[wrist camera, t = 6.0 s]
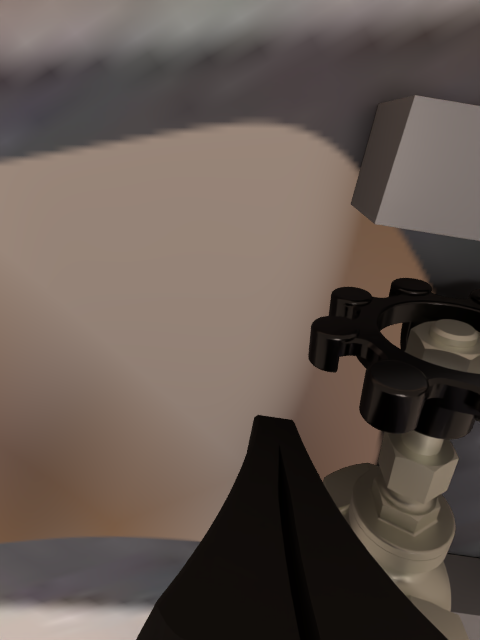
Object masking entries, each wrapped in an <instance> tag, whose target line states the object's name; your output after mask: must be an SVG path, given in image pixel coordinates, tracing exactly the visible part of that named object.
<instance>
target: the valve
mask: <svg viewBox="0 0 480 640" xmlns="http://www.w3.org/2000/svg"><path fill="white" fill-rule="evenodd" d="M431 291H432V287H431V286H430V285H429V284H428V283H426V282H424V281H422V280H418V279H412V278H400V279H396V280H394V281H393V282H392V283H391V289H390V293H389V297H387V298H377V297H372V296H371V294H370V293H369V292H367V291H365V290H363V289H360V288H355V287H341V288H337V289H335V290H334V291H333V292H332V294H331V302H330V310H329V316H326V317H320V318H318V319H316V320H315V321H314V322H313V323H312V325H311V335H310V345H309V360H310V362H311V363H312V364H313V365H314V366H315V367H317V368H319V369H321V370H324V371H327V372H337V369H338V362H339V357H341V356H349V355H350V356H351V355H353V356H357V358H358V360H359V361H360V362H361V363H362V365H363V366H364V367H365V368H366V373H365V378H364V384H363V389H362V395H361V400H360V406H359V408H360V413H361V415H362V417H363V418H364V419H365V421H366V422H367V423H369V424H370V425H371V426H373V427H374V428H376V429H378V430H381V431H383V432H384V437H383V441H382V445H381V450H380V454H379V458H378V463H379V466H380V467H379V466H377V465H374V464H370V463H362V464H356V465H352V466H348V467H345V468H342V469H340V470H338V471H335V472H333V473H331V474H329V475H328V476H326V477H325V478H324V480H323V484H324V485H325V487H326V489H327V491H328V492H329V494H330V496H331V497H332V499H333V501H334V502H335V504H336V506H337V507H338V509H339V510H340V512H341V513H342V515H343V516H344V518H345V519H346V521H347V522H348V524H349V525H350V527H351V528H352V530H353V531H354V532H355V534H356V535H357V537H358V538H359V539H360V541H361V542H362V543H363V545H364V546H365V547H366V549H367V550H368V551H369V553H370V554H371V555H372V556H373V558H374V559H375V560H376V561H377V562H378V564H379V565H380V566H381V567H382V568H383V570H384V571H385V572H386V573H387V575H388V576H389V577H390V578H391V579H392V581H393V582H394V583H395V584H396V585H397V587H398V588H399V589H400V590H401V591H402V592H403V593H404V594H405V595H406V597H407V598H408V599H409V600H410V601H411V602H412V603H413V604H414V605H415V606H416V607H417V608H418V610H419V611H420V612H421V613H422V614H423V615H424V616H425V617H426V618H427V619H428V620H429V621H430V622H431V623H432V624H433V625H434V626H435V627H436V628H437V629H438V630H439V631H440V632H441V633H442V634H443V635H444V636H445V637H446V638H447V639H448V640H469V638H468V636H467V633H466V631H465V628H464V626H463V623H462V621H461V619H460V616H459V615H458V614H455V613H453V612H450V611H451V589H450V582H449V577H448V574H447V570H446V567H445V564H444V561H443V560H444V559H445V557H446V554H447V552H448V550H449V547H450V545H451V543H452V540H453V538H454V535H455V528H456V526H455V519H454V515H453V512H452V510H451V507H450V506H449V504H448V503H447V501H446V499H445V498H444V497H443V496H442V493H443V492H445V491H447V489H448V486H449V484H450V481H451V478H452V476H453V473H454V470H455V468H456V465H457V462H458V460H459V458H458V455H457V453H456V451H455V449H454V447H453V445H452V443H451V442H450V440H449V439H458V438H461V437H464V436H465V435H467V434H469V432H470V431H471V430H472V428H473V425H474V422H475V420H476V421H480V289H476V290H473V291H472V292H471V293H470V295H469V299H457V298H451V297H444V296H439V295H436V294H433V293H432V292H431ZM397 323H403V324H402V329H401V340H400V345H401V349H399V348H398V347H396V346H395V345H393V344H392V343H390V342H389V341H388V340H387V339H386V338H385V337H384V336H383V335H382V334H381V332H380V331H381V330H382V329H383V328H385V327H387V326H390V325H393V324H397Z"/></svg>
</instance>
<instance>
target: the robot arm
mask: <svg viewBox="0 0 480 640" xmlns="http://www.w3.org/2000/svg"><path fill="white" fill-rule="evenodd" d="M136 640H448V639H447V638H446V637H445V636H444V635H443V634H442V633H441V632H440V631H439V630H438V629H437V628H436V627H435V626H434V625H433V624H432V623H431V622H430V621H429V620H428V619H427V618H426V617H425V616H424V615H423V614H422V613H421V612H420V611H419V610H418V608H417V607H416V606H415V605H414V604H413V603H412V602H411V601H410V600H409V599H408V598H407V597H406V595H405V594H404V593H403V592H402V591H401V590H400V589H399V588H398V587H397V585H396V584H395V583H394V582H393V581H392V579H391V578H390V577H389V576H388V575H387V573H386V572H385V571H384V570H383V568H382V567H381V566H380V565H379V564H378V562H377V561H376V560H375V559H374V558H373V556H372V555H371V554H370V553H369V551H368V550H367V549H366V547H365V546H364V545H363V543H362V542H361V541H360V539H359V538H358V537H357V535H356V534H355V532H354V531H353V530H352V528H351V527H350V525H349V524H348V522H347V521H346V519H345V518H344V516H343V515H342V513H341V512H340V510H339V509H338V507H337V506H336V504H335V502H334V501H333V499H332V497H331V496H330V494H329V492H328V491H327V489H326V487H325V485H324V484H323V482H322V480H321V479H320V476H319V474H318V473H317V471H316V469H315V467H314V465H313V463H312V461H311V459H310V457H309V455H308V453H307V451H306V449H305V447H304V445H303V442H302V440H301V438H300V435H299V433H298V431H297V428H296V426H295V423H294V422H293V420H288V419H281V418H275V417H268V416H261V415H257V416H256V417H255V418H254V421H253V426H252V431H251V436H250V440H249V445H248V450H247V454H246V457H245V460H244V462H243V465H242V467H241V469H240V472H239V474H238V476H237V479H236V481H235V483H234V485H233V487H232V489H231V491H230V493H229V495H228V497H227V499H226V501H225V503H224V504H223V506H222V508H221V510H220V512H219V513H218V515H217V517H216V519H215V520H214V522H213V524H212V525H211V527H210V528H209V530H208V532H207V533H206V535H205V536H204V538H203V539H202V541H201V542H200V544H199V545H198V547H197V548H196V550H195V551H194V553H193V554H192V555H191V557H190V558H189V560H188V561H187V563H186V564H185V565H184V567H183V568H182V570H181V571H180V572H179V574H178V575H177V576H176V577H175V579H174V580H173V581H172V583H171V584H170V585H169V586H168V588H167V589H166V590H165V592H164V593H163V594H162V595H161V597H160V598H159V599H158V600H157V602H156V604H155V606H154V608H153V610H152V612H151V613H150V615H149V617H148V619H147V620H146V622H145V624H144V626H143V628H142V630H141V631H140V633H139V635H138V637H137V639H136Z"/></svg>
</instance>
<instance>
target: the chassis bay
mask: <svg viewBox="0 0 480 640" xmlns="http://www.w3.org/2000/svg"><path fill="white" fill-rule="evenodd" d="M351 205H352V206H354V207H355V208H356V209H357V210H358V211H360V212H361V213H362V214H363V215H364V216H366V217H367V218H368V219H369V220H371V221H372V222H373V223H374V224H378V225H384V226H390V227H397V228H403V229H409V230H415V231H421V232H428V233H434V234H440V235H446V236H452V237H459V238H465V239H471V240H477V241H480V106H476V105H470V104H464V103H458V102H452V101H446V100H440V99H434V98H428V97H423V96H417V95H414V96H410V97H405V98H401V99H397V100H392V101H388V102H384V103H379V104H378V108H377V111H376V115H375V119H374V122H373V126H372V129H371V133H370V137H369V140H368V144H367V147H366V151H365V155H364V158H363V162H362V165H361V169H360V173H359V176H358V180H357V183H356V187H355V191H354V194H353V198H352V202H351ZM443 561H444V564H445V567H446V570H447V574H448V577H449V582H450V589H451V611H450V612H453V613H455V614H458V615H459V616H460V619H461V621H462V623H463V626H464V628H465V631H466V633H467V636H468V638H469V640H480V559H479V558H472V557H465V556H459V555H452V554H446V557H445V559H444V560H443Z"/></svg>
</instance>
